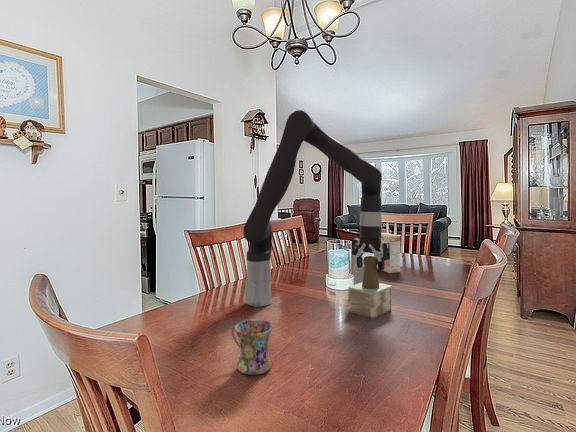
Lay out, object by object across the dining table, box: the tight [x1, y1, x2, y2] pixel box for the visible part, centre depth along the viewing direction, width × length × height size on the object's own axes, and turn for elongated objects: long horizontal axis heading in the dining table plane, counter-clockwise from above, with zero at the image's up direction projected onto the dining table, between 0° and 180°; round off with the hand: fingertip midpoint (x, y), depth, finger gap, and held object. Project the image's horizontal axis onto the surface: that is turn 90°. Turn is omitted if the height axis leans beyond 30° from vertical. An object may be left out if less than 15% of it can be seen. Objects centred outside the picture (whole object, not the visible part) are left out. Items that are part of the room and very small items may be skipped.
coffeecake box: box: [373, 232, 402, 274], centre depth 182 cm, size 15×7×20 cm, turn 17°
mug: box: [230, 318, 274, 376], centre depth 83 cm, size 12×9×11 cm
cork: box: [362, 255, 380, 289], centre depth 120 cm, size 6×6×11 cm
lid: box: [348, 282, 393, 295], centre depth 121 cm, size 12×10×1 cm
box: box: [347, 288, 392, 320], centre depth 121 cm, size 12×10×8 cm
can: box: [352, 263, 365, 286], centre depth 143 cm, size 8×8×12 cm
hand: (369, 269), depth 120 cm, fingers open, 8 cm apart
